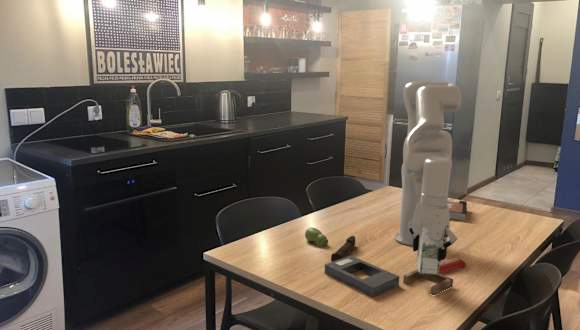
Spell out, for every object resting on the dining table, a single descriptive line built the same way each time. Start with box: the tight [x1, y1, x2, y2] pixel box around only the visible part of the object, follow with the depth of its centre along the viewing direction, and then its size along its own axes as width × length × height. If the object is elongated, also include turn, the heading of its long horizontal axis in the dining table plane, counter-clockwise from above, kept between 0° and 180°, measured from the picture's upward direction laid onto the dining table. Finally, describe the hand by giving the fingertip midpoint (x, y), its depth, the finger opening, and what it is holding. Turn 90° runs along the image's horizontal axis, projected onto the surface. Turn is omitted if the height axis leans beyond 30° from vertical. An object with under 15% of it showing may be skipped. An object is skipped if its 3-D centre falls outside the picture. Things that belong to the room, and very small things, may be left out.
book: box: [447, 200, 468, 223], centre depth 216 cm, size 26×18×5 cm
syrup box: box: [416, 228, 441, 275], centre depth 142 cm, size 6×6×14 cm
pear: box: [304, 227, 329, 248], centre depth 176 cm, size 6×5×10 cm
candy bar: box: [439, 257, 467, 275], centre depth 156 cm, size 16×4×3 cm, turn 120°
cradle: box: [402, 268, 454, 296], centre depth 144 cm, size 10×11×2 cm
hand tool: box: [330, 235, 356, 262], centre depth 166 cm, size 19×4×5 cm, turn 152°
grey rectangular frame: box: [324, 255, 400, 298], centre depth 147 cm, size 12×20×3 cm, turn 40°
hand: (428, 254), depth 143 cm, fingers closed on syrup box, 8 cm apart
